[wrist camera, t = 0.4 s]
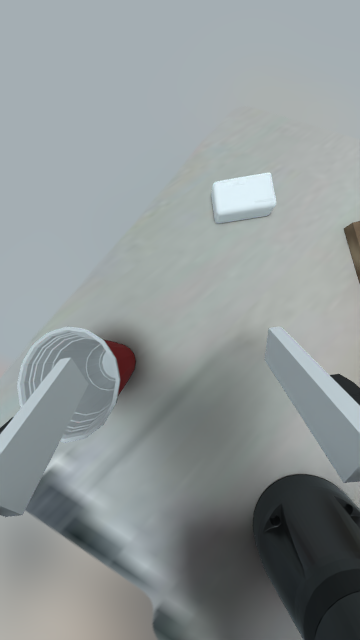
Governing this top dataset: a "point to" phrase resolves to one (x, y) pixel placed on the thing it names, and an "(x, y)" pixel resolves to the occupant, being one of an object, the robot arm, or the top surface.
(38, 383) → the plastic cup
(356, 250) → the slotted stand
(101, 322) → the top surface
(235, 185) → the soap
